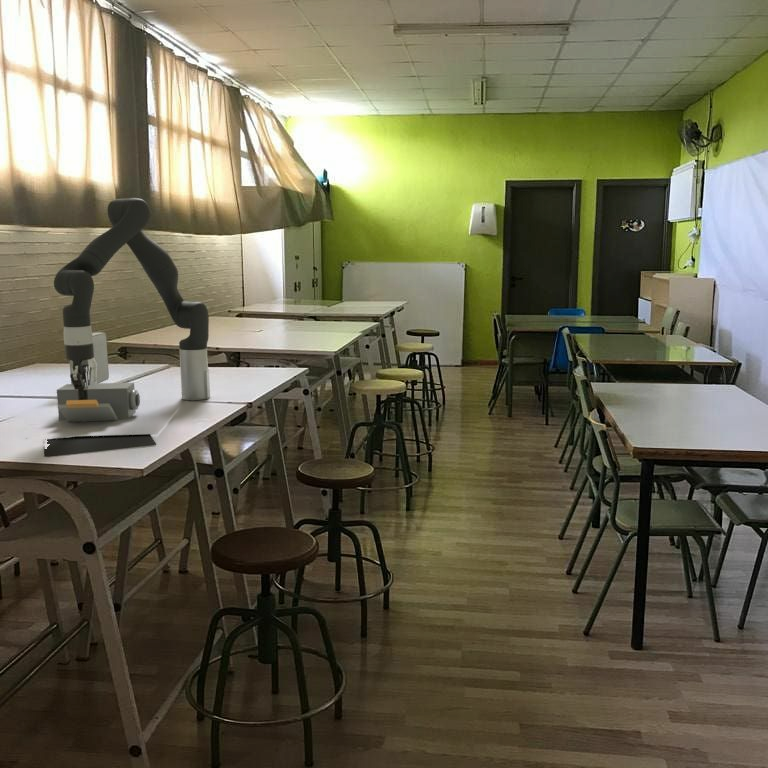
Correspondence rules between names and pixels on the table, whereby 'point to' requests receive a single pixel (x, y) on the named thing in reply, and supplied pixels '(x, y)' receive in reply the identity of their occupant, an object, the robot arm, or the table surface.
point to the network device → (99, 357)
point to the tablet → (96, 444)
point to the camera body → (105, 397)
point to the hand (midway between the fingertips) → (83, 402)
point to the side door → (87, 411)
